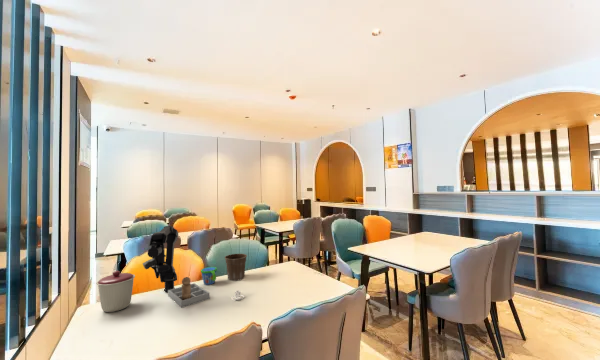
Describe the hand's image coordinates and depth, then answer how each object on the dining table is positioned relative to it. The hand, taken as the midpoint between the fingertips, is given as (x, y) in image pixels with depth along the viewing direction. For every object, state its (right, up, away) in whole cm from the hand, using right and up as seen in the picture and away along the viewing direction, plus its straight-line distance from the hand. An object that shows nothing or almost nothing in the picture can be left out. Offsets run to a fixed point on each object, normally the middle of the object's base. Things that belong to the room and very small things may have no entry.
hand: (159, 279), depth 156 cm
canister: (-21, -14, -7) cm, 26 cm away
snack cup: (+20, -14, +29) cm, 37 cm away
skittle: (+18, -12, -3) cm, 21 cm away
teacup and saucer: (+44, -12, 0) cm, 46 cm away
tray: (+15, -13, +5) cm, 20 cm away
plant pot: (+37, -14, +38) cm, 55 cm away
